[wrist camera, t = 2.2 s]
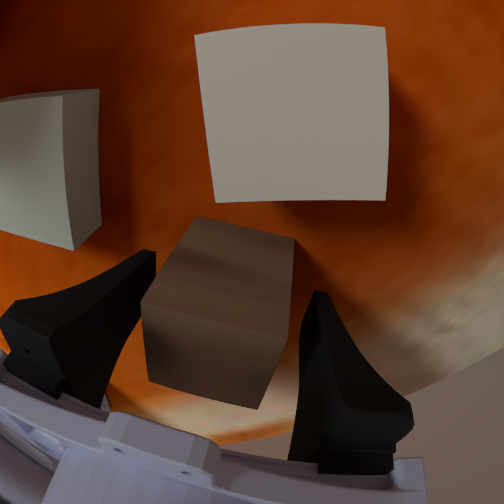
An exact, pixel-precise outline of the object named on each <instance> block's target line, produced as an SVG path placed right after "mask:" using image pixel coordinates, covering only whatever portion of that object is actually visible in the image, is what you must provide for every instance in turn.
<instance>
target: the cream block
mask: <svg viewBox="0 0 504 504" xmlns="http://www.w3.org/2000/svg"><path fill="white" fill-rule="evenodd" d="M194 36H195V45H196V55H197V63H198V72H199V81H200V89H201V97H202V106H203V114H204V121H205V129H206V137H207V144H208V152H209V159H210V166H211V173H212V181H213V188H214V194H215V201H216V203H221V202H247V201H285V200H383V201H385V199H386V186H387V171H388V148H389V83H388V62H387V47H386V35H385V27H377V26H365V25H351V24H281V25H266V26H255V27H245V28H237V29H229V30H222V31H215V32H209V33H204V34H198V35H194Z"/></svg>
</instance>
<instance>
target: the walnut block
mask: <svg viewBox="0 0 504 504" xmlns="http://www.w3.org/2000/svg"><path fill="white" fill-rule="evenodd" d="M293 257H294V238H289V237H285V236H281V235H277V234H273V233H268V232H264V231H260V230H255V229H251V228H247V227H243V226H238V225H234V224H229V223H225V222H221V221H216V220H212V219H207V218H203V217H198V216H196V217H195V219H194V220H193V222H192V223H191V225H190V226H189V228H188V229H187V231H186V232H185V234H184V235H183V237H182V238H181V239H180V241H179V242H178V244H177V245H176V247H175V248H174V250H173V251H172V253H171V254H170V256H169V258H168V259H167V261H166V262H165V264H164V265H163V267H162V268H161V270H160V271H159V273H158V274H157V276H156V278H155V279H154V281H153V282H152V284H151V285H150V287H149V289H148V290H147V292H146V293H145V295H144V297H143V298H142V300H141V315H142V327H143V337H144V347H145V356H146V365H147V372H148V380H149V381H150V382H153V383H156V384H159V385H163V386H166V387H169V388H172V389H176V390H179V391H183V392H186V393H190V394H193V395H197V396H201V397H204V398H208V399H212V400H216V401H220V402H225V403H229V404H233V405H238V406H242V407H247V408H252V409H257V410H258V408H259V405H260V403H261V401H262V399H263V396H264V394H265V392H266V390H267V387H268V385H269V383H270V380H271V378H272V376H273V373H274V371H275V368H276V366H277V364H278V361H279V359H280V356H281V354H282V352H283V349H284V347H285V344H286V342H287V339H288V329H289V317H290V303H291V289H292V274H293Z"/></svg>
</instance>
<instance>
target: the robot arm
mask: <svg viewBox="0 0 504 504" xmlns="http://www.w3.org/2000/svg"><path fill="white" fill-rule="evenodd" d="M155 278H156V252H153V251H149V250H146V249H143V250H141V251H139V252H138V253H136V254H134V255H133V256H131V257H129V258H128V259H126V260H124V261H123V262H121V263H119V264H118V265H116V266H114V267H113V268H111V269H109V270H107V271H105V272H103V273H101V274H100V275H98V276H96V277H94V278H92V279H90V280H88V281H85V282H83V283H81V284H78V285H76V286H73V287H70V288H67V289H64V290H61V291H59V292H55V293H52V294H48V295H44V296H39V297H34V298H28V299H21V300H16V301H15V302H14V303H13V304H12V305H11V306H10V307H9V308H8V310H7V311H6V312H5V313H4V314H3V315H2V316H1V318H0V329H1V331H2V334H3V336H4V338H5V339H6V341H7V343H8V345H9V347H10V349H11V352H10V353H9V355H7V354H6V353H5V352H4V351H3V350H1V349H0V504H427V492H426V481H425V471H424V463H423V458H422V457H413V458H399V459H395V460H393V453H395V452H396V443H397V442H398V441H400V440H401V439H402V438H403V437H405V436H406V435H407V434H408V433H409V432H410V431H411V430H412V429H413V426H414V420H413V412H412V408H411V404H410V402H409V401H407V400H406V399H405V398H404V397H403V396H401V395H400V394H399V393H398V392H396V391H395V390H394V389H393V388H392V387H391V386H390V385H389V384H388V383H387V382H385V381H384V380H383V378H382V377H381V376H380V375H379V374H378V373H377V372H376V371H375V370H374V369H373V368H372V366H371V365H370V364H369V363H368V362H367V360H366V359H365V358H364V356H363V355H362V354H361V352H360V351H359V350H358V348H357V347H356V345H355V344H354V342H353V340H352V339H351V337H350V335H349V334H348V332H347V330H346V328H345V326H344V325H343V323H342V321H341V319H340V317H339V315H338V313H337V311H336V309H335V307H334V305H333V302H332V300H331V298H330V296H329V294H328V293H326V292H321V291H317V290H314V293H313V295H312V298H311V300H310V303H309V305H308V308H307V310H306V313H305V315H304V318H303V320H302V323H301V331H300V339H299V394H298V402H297V409H296V416H295V423H294V429H293V434H292V440H291V445H290V450H289V454H288V459H287V460H281V459H274V458H268V457H262V456H256V455H250V454H245V453H240V452H234V451H230V450H225V449H221V448H220V447H219V446H218V445H217V444H216V443H214V442H213V441H211V440H210V439H207V438H205V437H202V436H199V435H196V434H193V433H189V432H186V431H182V430H179V429H175V428H172V427H169V426H166V425H162V424H159V423H156V422H153V421H150V420H147V419H144V418H141V417H139V416H136V415H133V414H129V413H126V412H122V411H118V412H111V413H107V412H110V411H111V407H110V405H109V402H108V400H107V397H106V394H105V392H106V389H107V386H108V383H109V380H110V377H111V375H112V372H113V370H114V367H115V365H116V362H117V360H118V357H119V355H120V353H121V351H122V348H123V346H124V344H125V342H126V340H127V339H128V337H129V335H130V334H131V332H132V330H133V329H134V327H135V325H136V324H137V322H138V321H139V319H140V317H141V316H142V315H141V300H142V298H143V297H144V295H145V293H146V292H147V290H148V289H149V287H150V285H151V284H152V282H153V281H154V279H155ZM102 410H103V411H102ZM105 411H106V412H105Z"/></svg>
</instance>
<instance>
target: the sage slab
mask: <svg viewBox="0 0 504 504" xmlns="http://www.w3.org/2000/svg"><path fill="white" fill-rule="evenodd" d="M99 91H100V89H78V90H62V91H50V92H40V93H31V94H23V95H16V96H9V97H5V98H1V99H0V230H3V231H6V232H9V233H13V234H16V235H19V236H23V237H26V238H30V239H33V240H37V241H40V242H44V243H47V244H51V245H54V246H58V247H62V248H65V249H69V250H73V251H75V250H76V249H77V248H78V247H79V246H80V245H81V244H82V243H83V242H84V241H85V240H86V239H87V238H88V237H89V236H90V235H91V234H92V233H93V232H94V231H96V230H97V229H98V228H99V227H100V226H101V225H102V219H101V206H100V191H99V168H98V113H99Z"/></svg>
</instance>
